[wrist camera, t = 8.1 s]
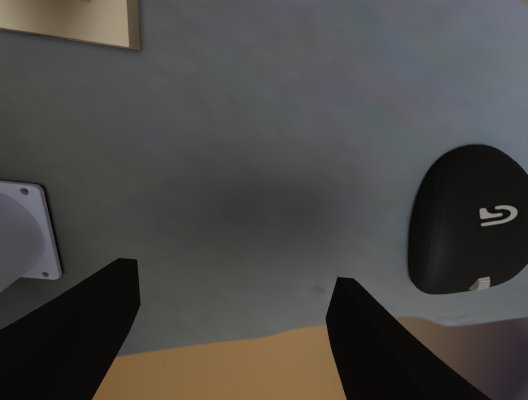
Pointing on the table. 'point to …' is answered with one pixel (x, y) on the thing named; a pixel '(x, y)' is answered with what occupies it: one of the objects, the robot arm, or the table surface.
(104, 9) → the base slab
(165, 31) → the table surface
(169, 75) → the table surface
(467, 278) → the computer mouse
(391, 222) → the table surface
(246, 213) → the table surface
